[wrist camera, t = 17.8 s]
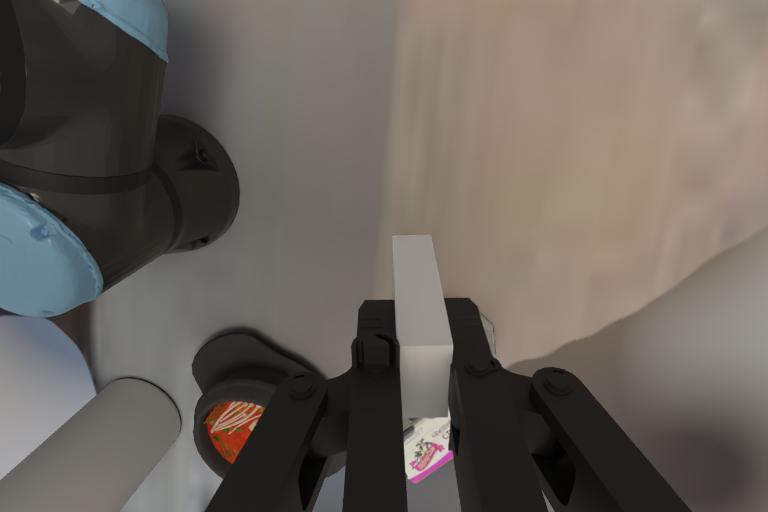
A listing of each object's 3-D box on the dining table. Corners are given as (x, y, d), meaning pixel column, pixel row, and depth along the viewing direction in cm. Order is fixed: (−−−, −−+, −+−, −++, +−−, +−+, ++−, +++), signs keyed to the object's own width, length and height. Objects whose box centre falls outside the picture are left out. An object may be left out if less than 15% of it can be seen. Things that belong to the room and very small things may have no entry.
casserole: (171, 363, 65) (131, 403, 57) (266, 300, 58) (235, 336, 51) (285, 486, 70) (262, 538, 63) (385, 442, 64) (372, 494, 56)
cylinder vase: (101, 424, 72) (-71, 592, 49) (108, 363, 67) (-80, 518, 44) (176, 456, 72) (38, 639, 49) (189, 396, 67) (41, 570, 44)
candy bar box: (430, 378, 58) (414, 487, 43) (400, 353, 58) (374, 454, 43) (497, 324, 54) (505, 425, 39) (465, 296, 53) (462, 387, 38)
